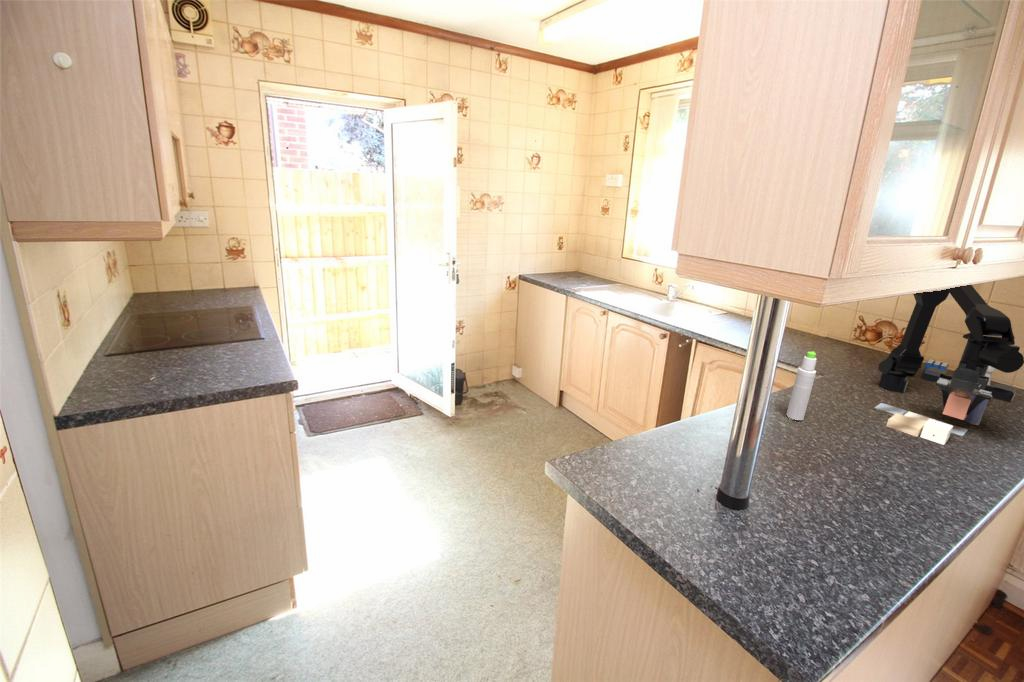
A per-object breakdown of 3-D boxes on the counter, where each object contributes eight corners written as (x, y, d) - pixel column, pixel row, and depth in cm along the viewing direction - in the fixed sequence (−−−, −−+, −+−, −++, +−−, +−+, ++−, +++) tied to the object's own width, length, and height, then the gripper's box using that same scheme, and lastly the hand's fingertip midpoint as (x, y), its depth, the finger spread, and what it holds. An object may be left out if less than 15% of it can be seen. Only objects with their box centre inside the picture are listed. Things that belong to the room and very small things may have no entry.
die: (924, 423, 128) (949, 430, 124) (929, 418, 131) (953, 425, 127) (918, 439, 129) (943, 448, 125) (923, 434, 132) (947, 442, 129)
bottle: (806, 420, 137) (824, 354, 130) (796, 423, 135) (814, 356, 128) (791, 413, 140) (808, 349, 134) (782, 416, 138) (799, 351, 132)
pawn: (942, 413, 134) (951, 389, 132) (946, 409, 137) (955, 386, 135) (963, 420, 131) (972, 395, 129) (966, 416, 134) (976, 391, 131)
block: (885, 428, 134) (888, 419, 133) (893, 422, 139) (896, 413, 138) (916, 439, 129) (919, 429, 128) (923, 432, 133) (926, 422, 132)
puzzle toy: (920, 377, 178) (925, 362, 176) (923, 373, 181) (928, 359, 180) (941, 382, 173) (947, 367, 172) (943, 378, 177) (949, 363, 176)
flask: (980, 428, 138) (995, 391, 135) (967, 426, 139) (981, 389, 135) (960, 413, 147) (973, 379, 144) (948, 412, 148) (960, 377, 145)
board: (871, 410, 146) (872, 408, 145) (881, 403, 151) (881, 401, 151) (961, 440, 130) (962, 437, 130) (968, 431, 136) (969, 429, 135)
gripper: (924, 353, 131) (906, 405, 136) (1019, 376, 117) (996, 433, 122) (934, 347, 138) (917, 397, 143) (1026, 368, 124) (1003, 422, 129)
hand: (955, 411), depth 134 cm, fingers closed on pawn, 4 cm apart
